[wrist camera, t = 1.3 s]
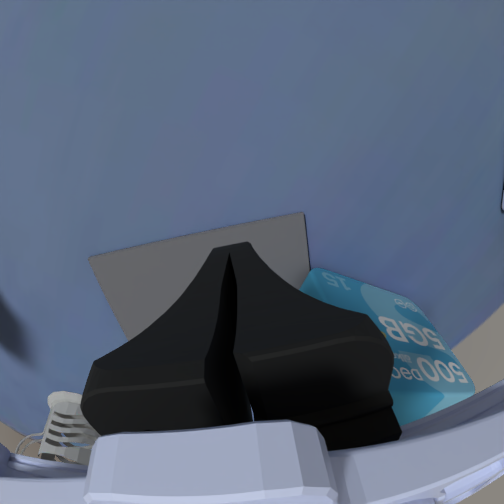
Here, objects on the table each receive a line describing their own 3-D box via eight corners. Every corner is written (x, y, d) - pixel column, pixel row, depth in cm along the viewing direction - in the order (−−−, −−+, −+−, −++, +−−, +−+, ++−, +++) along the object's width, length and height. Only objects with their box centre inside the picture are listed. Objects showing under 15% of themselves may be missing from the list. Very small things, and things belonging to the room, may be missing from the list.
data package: (412, 298, 27) (482, 394, 17) (386, 334, 29) (441, 432, 18) (305, 261, 24) (368, 391, 13) (279, 308, 25) (318, 440, 15)
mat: (302, 211, 22) (303, 213, 22) (317, 376, 31) (317, 378, 31) (89, 257, 22) (87, 258, 22) (166, 400, 31) (166, 402, 31)
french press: (120, 440, 36) (105, 603, 14) (43, 418, 33) (9, 570, 11) (117, 404, 31) (93, 610, 9) (28, 377, 29) (-26, 561, 7)
